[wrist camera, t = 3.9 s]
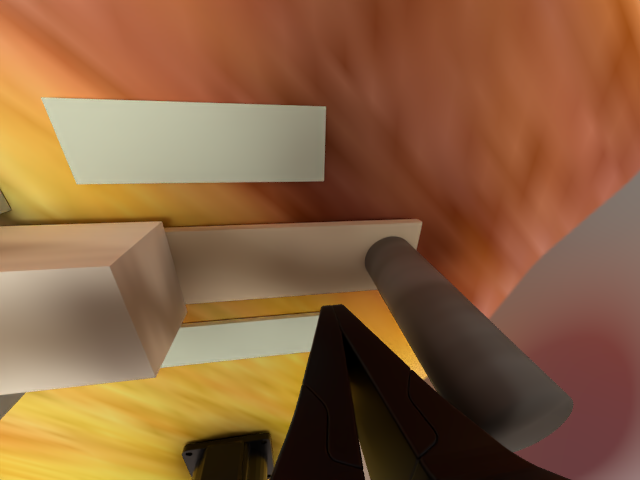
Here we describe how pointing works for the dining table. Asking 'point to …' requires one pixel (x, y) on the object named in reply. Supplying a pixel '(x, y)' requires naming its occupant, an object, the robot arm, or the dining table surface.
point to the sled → (243, 284)
